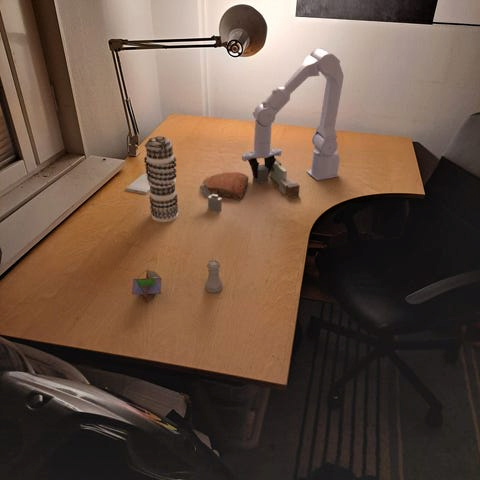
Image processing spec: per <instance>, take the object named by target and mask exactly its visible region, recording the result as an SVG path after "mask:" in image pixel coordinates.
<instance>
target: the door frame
mask: <svg viewBox="0 0 480 480" xmlns="http://www.w3.org/2000/svg"><path fill="white" fill-rule="evenodd" d="M276 162H277V163H278V164H279V165H280V166H282V163H281V162H280V161H279V160H278V159H277V158H276ZM278 185H279V184H278ZM278 189H279V191H280V192H282V193H283V195H285V197H287V198H288V199H289V198H294V197H295V196H296V197H299V196H300V195H299V194H300V184H299V183H298V182H295V181H294V180H293V179H291V178H286V179H284V180H280V185H279V186H278ZM296 197H295V198H296Z"/></svg>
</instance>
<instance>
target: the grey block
mask: <svg viewBox="0 0 480 480" xmlns="http://www.w3.org/2000/svg"><path fill="white" fill-rule="evenodd" d="M268 171H269V169H268V168H267V167H266V166H265V163H264V164H259V166H258V172H257V178H256V179H255V178H254V177H253V176H252V177H253V178H252V179H253V180H254V181H255V182H256V183H257V184H260V183H267V182H268V181H269V176H268ZM266 181H267V182H266Z"/></svg>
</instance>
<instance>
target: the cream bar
mask: <svg viewBox="0 0 480 480" xmlns="http://www.w3.org/2000/svg"><path fill="white" fill-rule="evenodd" d="M287 172H288V171H287V170H286V168H284V167H283V166H282V165H281V166H280V165H279V164H278V163H277V162H275V163H274V164H273V166H272V168H271V170H270V173H269V177H270V178H272V180H274V181H275V182H276V183H277V184H278V185H280V180H284V179H287Z"/></svg>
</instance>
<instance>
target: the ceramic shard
mask: <svg viewBox="0 0 480 480" xmlns="http://www.w3.org/2000/svg"><path fill="white" fill-rule="evenodd" d="M248 182H249V176H248V175H247V174H245V173H242V172H241V173H240V172H235V171H234V172H233V171H232V172H222V173H218V174H214V175H211V176H208V177H206V178H205V179H203V180H202V184H206V186H207V188H208V191H209V193H210V195H212V194H216V195H218V196H224V197H227V198H231V199H234V200H238V201H239V200H242V197H243V195H244V192H245V190H246V188H247V184H248Z"/></svg>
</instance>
